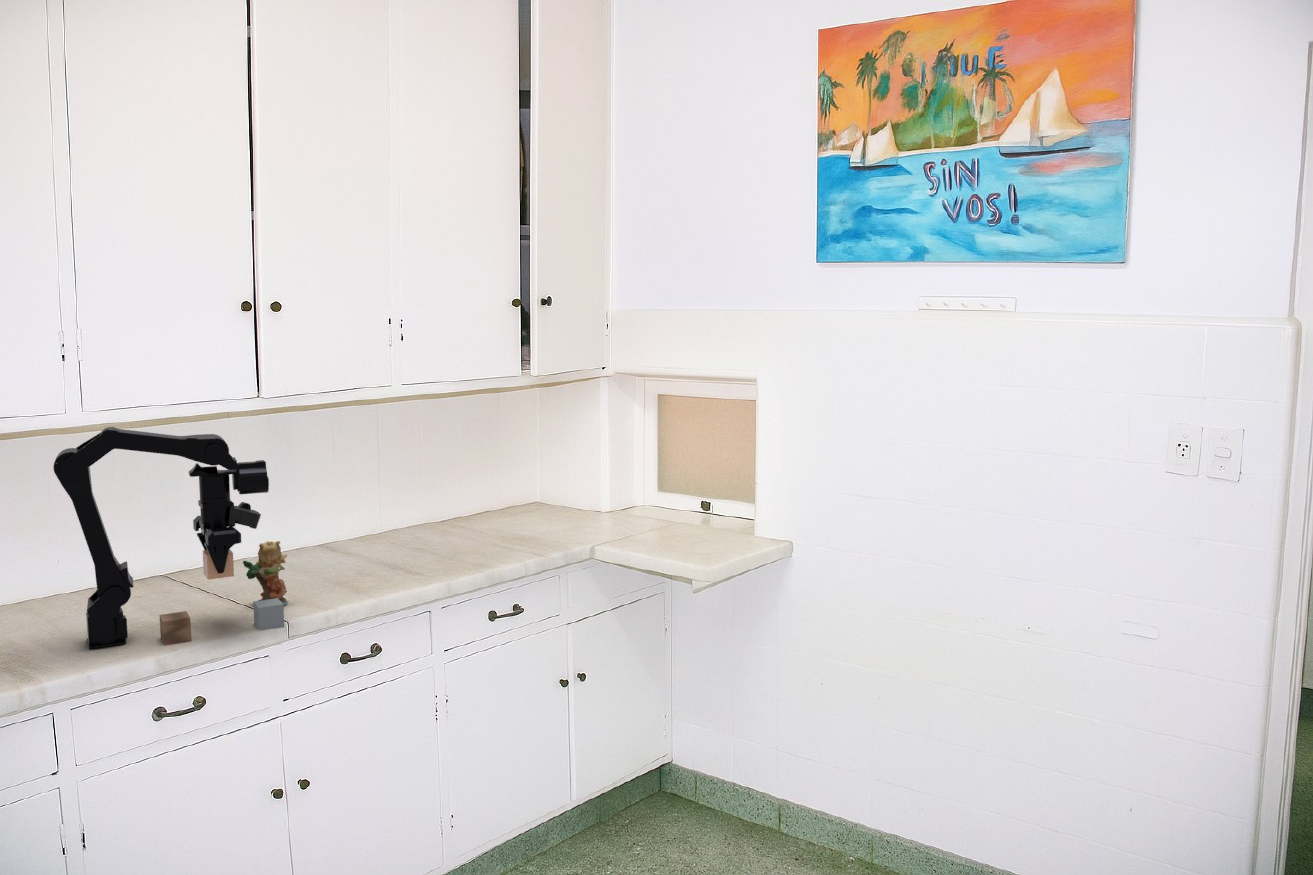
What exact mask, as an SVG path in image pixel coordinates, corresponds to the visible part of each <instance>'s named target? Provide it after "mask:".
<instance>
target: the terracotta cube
mask: <svg viewBox="0 0 1313 875" xmlns="http://www.w3.org/2000/svg"><path fill="white" fill-rule="evenodd" d="M202 563H203V564H202V566H203V568H202V569H203V575H204V576H205V578H206V579H207V580H215V579H223V578H230V577H231V578H232V577H235V569H234V552H233V551H232V550H231V548H230V549H229V552H228V556H227V561H226V565H225V569H224V573H218V572H217V570H216V568H215V566H214V564H213V561H212V559H211V557H210V555H209V553H208V551H207V550H204V549H203V550H202Z"/></svg>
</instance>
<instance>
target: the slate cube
mask: <svg viewBox="0 0 1313 875" xmlns="http://www.w3.org/2000/svg"><path fill="white" fill-rule="evenodd" d="M252 606H253V624H254V626H255V627H256V628H257V629H258V631H266V630H272V629H279V628H285V614H284V612H285V608H284V606H285V605H283V603H282V602H281V601H280V600H279V599H278V598H276V599H269V600H262V601H258V600H256V601H253V604H252Z"/></svg>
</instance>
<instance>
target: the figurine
mask: <svg viewBox="0 0 1313 875" xmlns="http://www.w3.org/2000/svg"><path fill="white" fill-rule="evenodd" d="M280 541H281V540H277V541H272V540H271V541H265V542H262V543H259V544H258V547H259V548H258V551H257V556H258V561H256V562H255V564H253V563H252V562H251V561H248V560H243V561H242V564H243V567H244V568H247V569H248V570H247V572H246V578H247V579H248V580H252V579H255V578H256V580H257V581H258V582H259V585H260V587H261V588H262V592H261V593H260V596H261V597H262V598H260V599H258V600H257V601H262V600H269V599H276V598H278V599H279V600H280V601H281V602H282V603H283V605H284V606H287V604H288V599H286V597H284V596H285V595H286V594H287V592H288V590H287V588H286V585H285V584H286V583H285V581H284V579H281V578H280V577H279V574H280V573H279V572H281V571H284V570H285V569H286V568H285V567H284V566H283V565H281V564H284V563H285V564H286V562H287V561H286V560H285V559H286V558H287V557H288V554H285V553H284V554H282V551H281V549H282V548H281V546H280V545H281V542H280Z"/></svg>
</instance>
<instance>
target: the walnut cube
mask: <svg viewBox="0 0 1313 875" xmlns="http://www.w3.org/2000/svg"><path fill="white" fill-rule="evenodd" d="M158 615H159V630H160V634H159V635H160V640H161V642H162V644H163V646H169V645H176V644H182V643H190V642H192V624H191V623H192V622H191V617H190V615H189V613H188V611H187V610H184V611H179V612H171V613H163V614H158Z"/></svg>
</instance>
